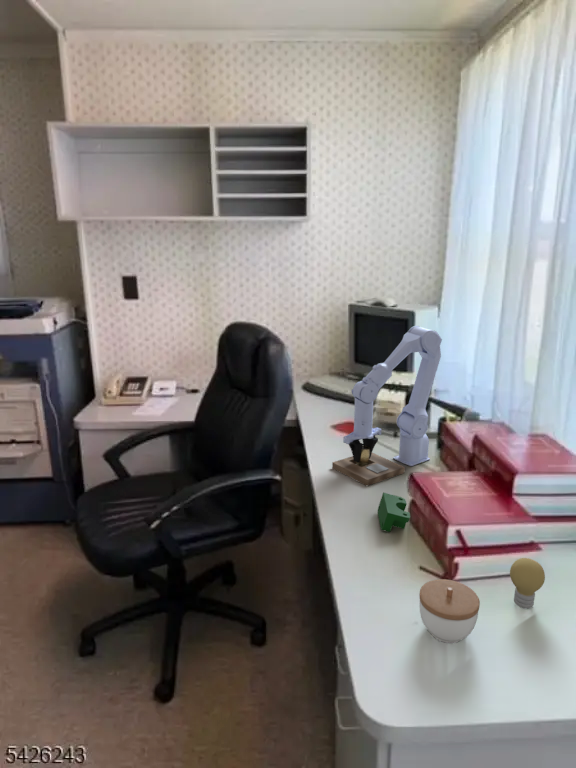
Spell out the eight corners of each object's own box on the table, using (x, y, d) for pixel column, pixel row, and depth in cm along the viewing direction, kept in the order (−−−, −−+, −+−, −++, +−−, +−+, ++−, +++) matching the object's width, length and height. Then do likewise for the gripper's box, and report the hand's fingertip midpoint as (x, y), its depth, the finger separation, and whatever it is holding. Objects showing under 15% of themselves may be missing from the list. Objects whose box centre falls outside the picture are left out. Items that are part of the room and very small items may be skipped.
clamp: (399, 545, 140) (411, 524, 135) (376, 539, 140) (387, 518, 135) (399, 508, 150) (410, 487, 144) (378, 503, 150) (388, 481, 144)
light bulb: (512, 590, 116) (517, 548, 113) (544, 603, 112) (550, 559, 109) (501, 606, 111) (507, 562, 108) (535, 619, 107) (541, 574, 104)
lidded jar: (435, 605, 111) (438, 564, 109) (486, 631, 104) (490, 588, 101) (406, 632, 104) (409, 589, 101) (458, 661, 96) (463, 616, 94)
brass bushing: (362, 461, 179) (363, 444, 177) (371, 465, 176) (372, 448, 174) (353, 464, 176) (354, 447, 175) (362, 469, 173) (363, 451, 172)
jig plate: (368, 456, 185) (369, 450, 184) (404, 472, 172) (404, 466, 172) (332, 468, 176) (332, 461, 175) (367, 486, 163) (367, 478, 163)
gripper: (354, 427, 165) (353, 469, 169) (389, 418, 173) (387, 458, 177) (339, 421, 171) (338, 462, 174) (373, 412, 179) (371, 451, 182)
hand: (361, 459), depth 176 cm, fingers closed on brass bushing, 4 cm apart
